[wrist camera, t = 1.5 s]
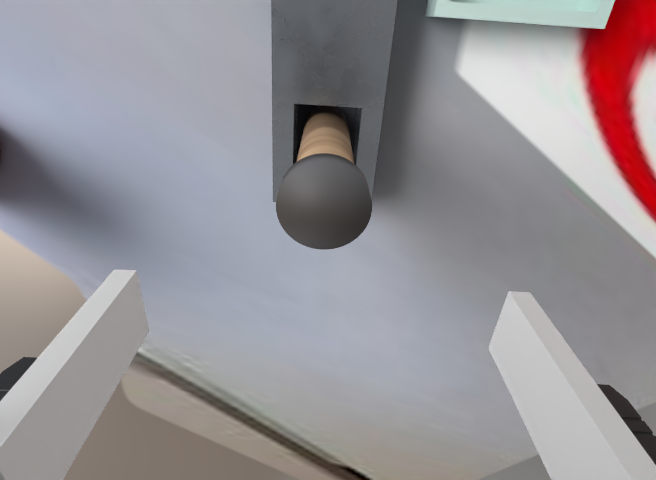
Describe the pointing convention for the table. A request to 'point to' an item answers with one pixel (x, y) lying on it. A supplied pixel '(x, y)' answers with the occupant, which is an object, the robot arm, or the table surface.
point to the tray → (527, 11)
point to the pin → (324, 186)
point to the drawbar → (330, 71)
